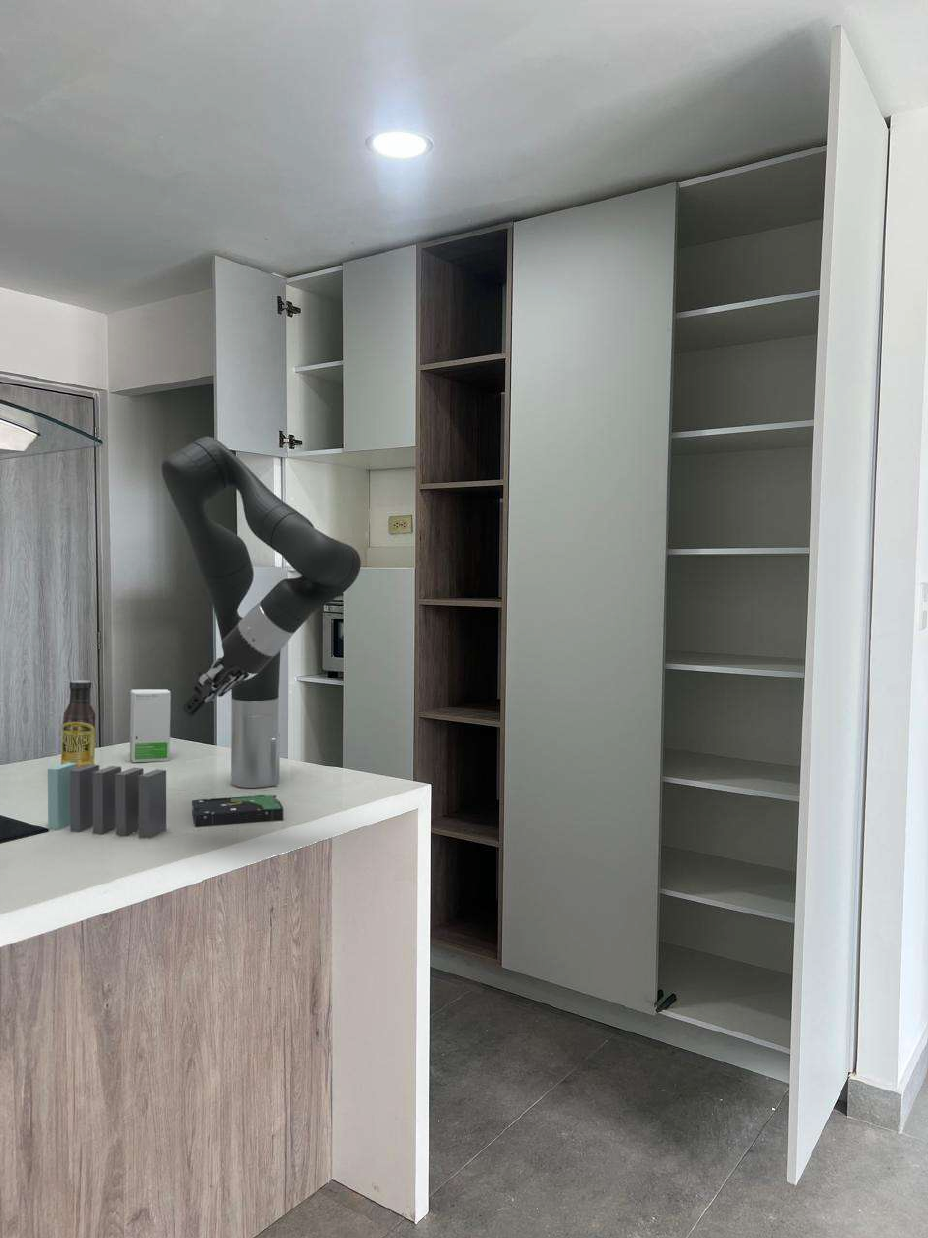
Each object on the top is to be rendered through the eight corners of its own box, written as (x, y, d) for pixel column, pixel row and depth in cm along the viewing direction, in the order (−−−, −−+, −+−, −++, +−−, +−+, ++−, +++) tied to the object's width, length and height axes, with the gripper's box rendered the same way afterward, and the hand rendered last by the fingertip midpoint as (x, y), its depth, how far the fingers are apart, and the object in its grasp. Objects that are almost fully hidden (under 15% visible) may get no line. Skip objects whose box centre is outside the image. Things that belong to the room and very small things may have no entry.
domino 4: (143, 828, 151) (143, 768, 150) (125, 836, 146) (125, 775, 145) (134, 827, 151) (133, 767, 151) (115, 835, 146) (115, 774, 146)
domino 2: (99, 824, 153) (99, 765, 152) (80, 832, 148) (79, 771, 147) (90, 823, 153) (89, 764, 153) (70, 831, 148) (69, 770, 148)
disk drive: (195, 831, 152) (284, 823, 157) (194, 814, 152) (284, 806, 157) (191, 815, 162) (275, 807, 167) (190, 799, 161) (275, 792, 166)
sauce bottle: (57, 782, 182) (56, 682, 181) (65, 774, 188) (64, 679, 187) (91, 781, 183) (91, 682, 182) (98, 774, 189) (98, 678, 188)
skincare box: (131, 763, 200) (131, 693, 199) (129, 757, 206) (128, 689, 205) (171, 760, 203) (171, 691, 202) (167, 755, 209) (167, 687, 208)
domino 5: (166, 830, 150) (166, 770, 149) (148, 839, 145) (148, 776, 144) (156, 829, 150) (156, 769, 150) (138, 838, 145) (138, 776, 145)
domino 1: (77, 821, 154) (77, 763, 153) (57, 830, 149) (57, 769, 149) (68, 821, 154) (68, 762, 154) (48, 829, 150) (47, 768, 149)
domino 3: (121, 826, 152) (121, 766, 151) (102, 834, 147) (102, 773, 146) (112, 825, 152) (111, 766, 152) (92, 833, 147) (92, 772, 147)
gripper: (253, 658, 134) (180, 736, 138) (293, 651, 147) (225, 723, 150) (221, 621, 135) (149, 699, 139) (263, 618, 148) (196, 690, 152)
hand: (189, 712), depth 145 cm, fingers closed
